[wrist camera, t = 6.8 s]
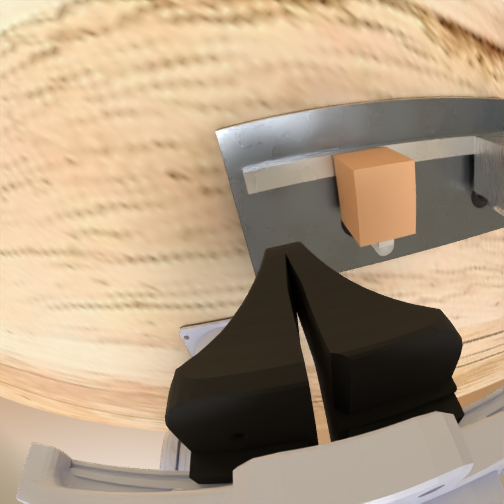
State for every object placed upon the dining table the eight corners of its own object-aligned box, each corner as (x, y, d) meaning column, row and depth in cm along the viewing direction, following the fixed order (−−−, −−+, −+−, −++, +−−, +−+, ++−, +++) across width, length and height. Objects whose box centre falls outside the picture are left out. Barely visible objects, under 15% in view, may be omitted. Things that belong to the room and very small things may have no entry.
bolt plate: (497, 221, 22) (535, 251, 17) (258, 281, 24) (263, 334, 19) (500, 98, 16) (548, 110, 11) (216, 129, 18) (207, 143, 13)
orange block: (387, 224, 20) (414, 253, 17) (341, 235, 21) (361, 267, 17) (381, 144, 17) (414, 160, 14) (330, 153, 18) (353, 170, 14)
